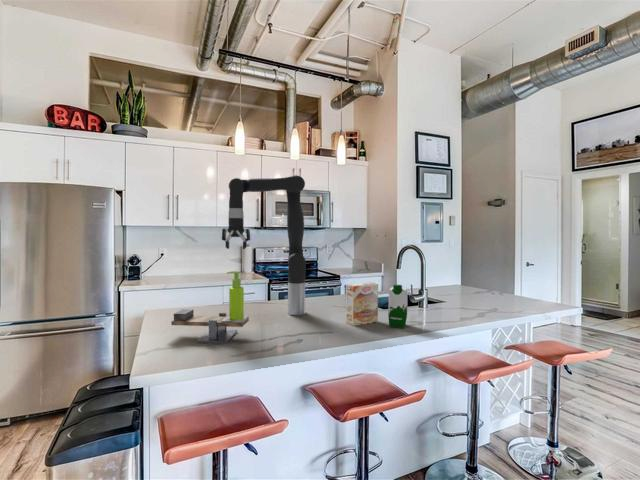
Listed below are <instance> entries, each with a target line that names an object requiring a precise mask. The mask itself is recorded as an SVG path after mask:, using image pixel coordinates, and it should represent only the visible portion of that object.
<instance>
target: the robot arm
mask: <svg viewBox="0 0 640 480" xmlns="http://www.w3.org/2000/svg"><path fill="white" fill-rule="evenodd" d="M305 186H306V181H305V179H304V178H303V177H302V176H300V175H297V174H296V175H291V176H288V177H287V176H286V177H279V178H277V177H276V178H275V177H274V178H269V177H268V178H267V177H266V178H261V177H258V178H253V177H252V178H248V179H241V178H238V177H233V178H232V179H231V180H230V181H229V183H228V188H229V189H228V190H229V198H228V199H229V200H228V201H229V202H228V228H222V230H221V231H222V232H221V240H222V241H224V243H225V248H226V249H227V250H228V249H230V240H231V239H232V238H240V239H241V241H242V249H243V250H246V248H247V242H248V241H251V231H250V228H244V223H245V222H244V217H245V216H244V200H243V199H244V193H249V192H250V193H258V192H260V193H262V192H272V191H285V192H286V198H287V199H286V200H287V209H286V210H287V212H286V213H287V214H286V215H287V217H286V225H287V226H286V228H287V237H288V259H287V264H288V274H287V275H288V277H287V280H288V281H287V285H288V286H287V290H288V291H287V296H288V297H287V314H288V315H290V316H305V313H306V273H307V272H306V271H307V269H306V268H307V265H306V264H307V261H306V258H305V257H304V253H303V240H304V234H305V218H304V212H303V207H302V204H301V203H302V202H301V192H302V191H303V190H304V189H305ZM227 233H228V235H227ZM244 233H245V235H246V237H245V235H244Z"/></svg>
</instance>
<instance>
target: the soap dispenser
mask: <svg viewBox="0 0 640 480" xmlns="http://www.w3.org/2000/svg"><path fill="white" fill-rule="evenodd" d="M226 274H228V275H230V274H234V278H233V279H232V280H231V282H232V286H231V287H229V291H228V293H229V301H228V302H229V304H228V305H229V319H231V320H240V319H243V318H244V316H245V315H244V313H245V312H244V309H245V308H244V307H245V306H244V305H245V303H244V302H245V300H244V298H245V297H244V292H245V291H244V289H245V288H244V287H243V286H241V278H240V277H239V274H241V271H237V270H235V271H234V270H233V271H228V272H226Z"/></svg>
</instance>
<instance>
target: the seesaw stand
mask: <svg viewBox="0 0 640 480" xmlns="http://www.w3.org/2000/svg"><path fill="white" fill-rule="evenodd" d="M218 316H227V312H219V313H218ZM237 333H238V329H228V328H227V327H224V326H217V320H209V326H208V331H207V332H206V333H204V334H203V335H202V336H201V337H199V338H198V339H197V340H196V343H197V344H211V345H212V344H213V345H214V344H217V345H220V344H221V345H226V344H227V343H228V342H229V341H230V340H232V338H233V337H234V336H235V335H236V334H237Z"/></svg>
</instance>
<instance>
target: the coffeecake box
mask: <svg viewBox="0 0 640 480" xmlns="http://www.w3.org/2000/svg"><path fill="white" fill-rule="evenodd" d="M345 293H346V295H345V296H346V298H345V299H346V301H345V302H346V304H345V305H346V306H345V309H346V310H345V323H346V324H349V325H350V326H352V325H353V326H352V327H355V326H356V327H357V326H361V324H362V325H368V324H367V323H369V324H374V323H373V322H376V323H379V322H378V321H379V283H375V282H371V281H369V282H357V283H355V282H354V283H346V292H345Z"/></svg>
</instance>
